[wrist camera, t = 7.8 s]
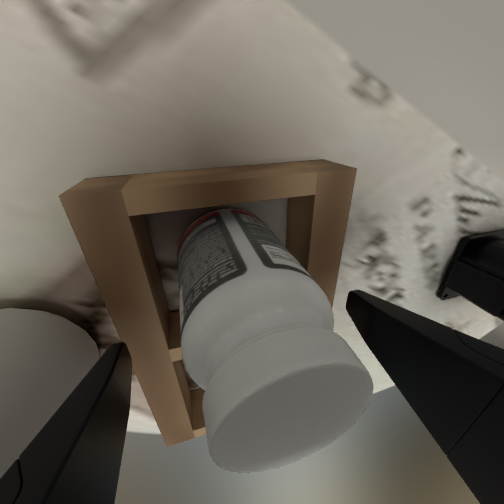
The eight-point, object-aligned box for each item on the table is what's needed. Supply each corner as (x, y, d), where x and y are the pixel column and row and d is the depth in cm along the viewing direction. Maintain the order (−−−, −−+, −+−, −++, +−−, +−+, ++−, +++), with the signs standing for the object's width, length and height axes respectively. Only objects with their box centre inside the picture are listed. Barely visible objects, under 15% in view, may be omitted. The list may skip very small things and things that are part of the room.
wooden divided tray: (322, 159, 14) (356, 168, 11) (300, 367, 23) (316, 398, 20) (85, 178, 11) (58, 196, 8) (167, 405, 20) (166, 446, 17)
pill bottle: (190, 298, 16) (208, 506, 7) (164, 217, 13) (144, 407, 4) (273, 276, 17) (373, 436, 8) (267, 196, 14) (412, 318, 5)
